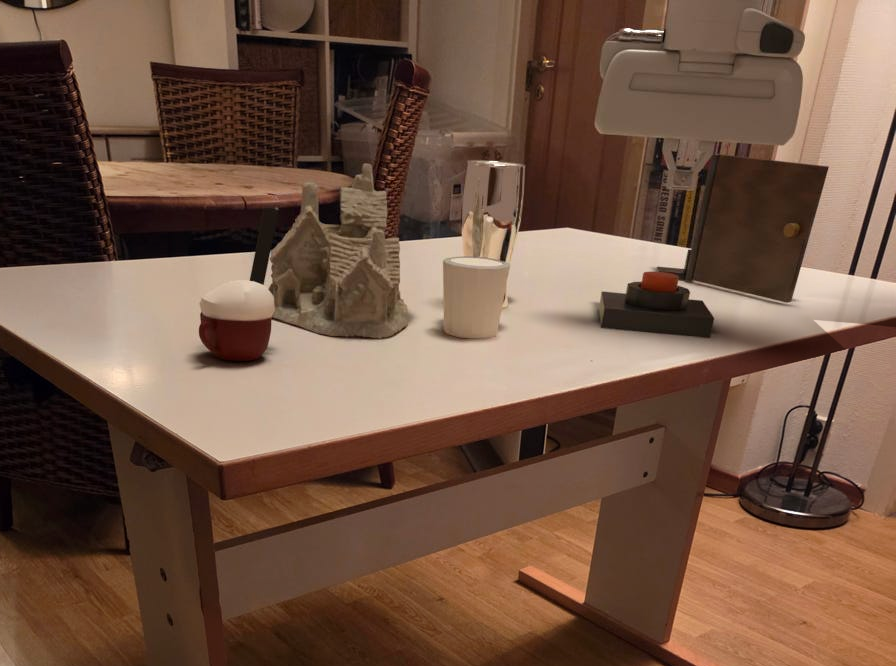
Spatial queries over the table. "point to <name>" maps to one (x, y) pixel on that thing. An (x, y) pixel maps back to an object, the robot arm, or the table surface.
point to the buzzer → (655, 312)
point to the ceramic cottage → (340, 267)
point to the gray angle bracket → (677, 269)
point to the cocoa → (242, 306)
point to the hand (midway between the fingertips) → (680, 189)
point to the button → (660, 281)
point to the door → (755, 224)
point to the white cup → (473, 295)
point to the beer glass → (492, 209)
